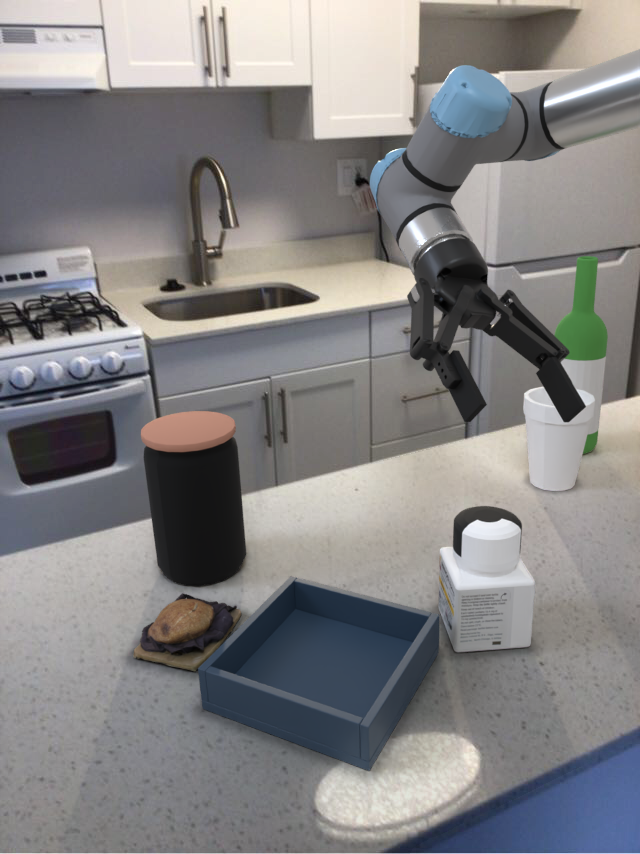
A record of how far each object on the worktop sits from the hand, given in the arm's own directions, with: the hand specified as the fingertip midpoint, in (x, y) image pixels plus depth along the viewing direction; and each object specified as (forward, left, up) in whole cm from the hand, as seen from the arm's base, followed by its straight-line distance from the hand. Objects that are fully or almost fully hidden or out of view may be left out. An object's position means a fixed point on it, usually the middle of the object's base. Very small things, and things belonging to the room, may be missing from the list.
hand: (527, 414), depth 74 cm
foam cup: (+3, -33, -22) cm, 40 cm away
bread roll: (+29, +19, -22) cm, 41 cm away
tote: (+13, +19, -22) cm, 32 cm away
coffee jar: (+36, +7, -22) cm, 43 cm away
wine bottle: (+3, -47, -22) cm, 52 cm away
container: (+2, +5, -22) cm, 23 cm away
